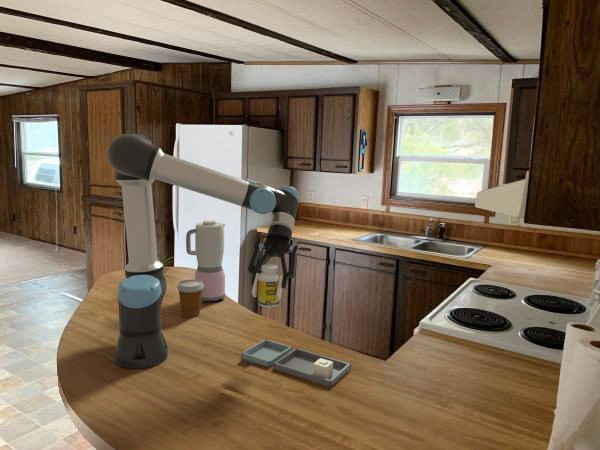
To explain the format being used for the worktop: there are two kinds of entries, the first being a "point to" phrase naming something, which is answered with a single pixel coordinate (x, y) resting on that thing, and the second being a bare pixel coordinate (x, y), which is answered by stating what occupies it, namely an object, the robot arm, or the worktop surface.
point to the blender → (209, 258)
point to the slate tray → (265, 353)
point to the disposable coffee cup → (190, 297)
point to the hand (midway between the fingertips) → (265, 296)
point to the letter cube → (323, 368)
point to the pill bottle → (268, 286)
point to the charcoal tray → (310, 366)
